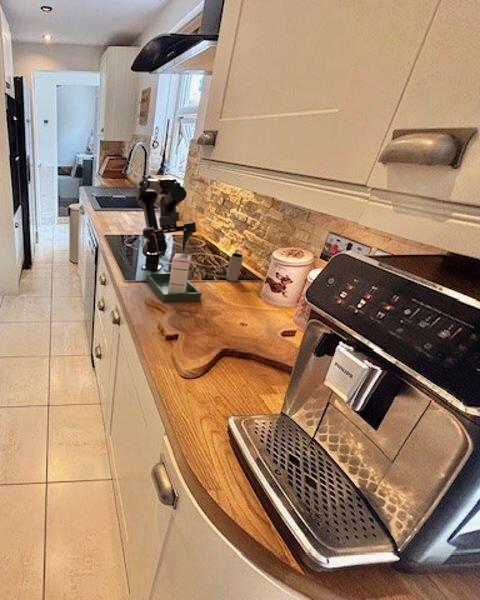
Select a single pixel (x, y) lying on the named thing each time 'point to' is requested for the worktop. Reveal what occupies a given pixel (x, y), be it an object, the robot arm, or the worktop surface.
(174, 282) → the syrup box
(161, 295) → the tray
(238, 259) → the grey upright cylinder
